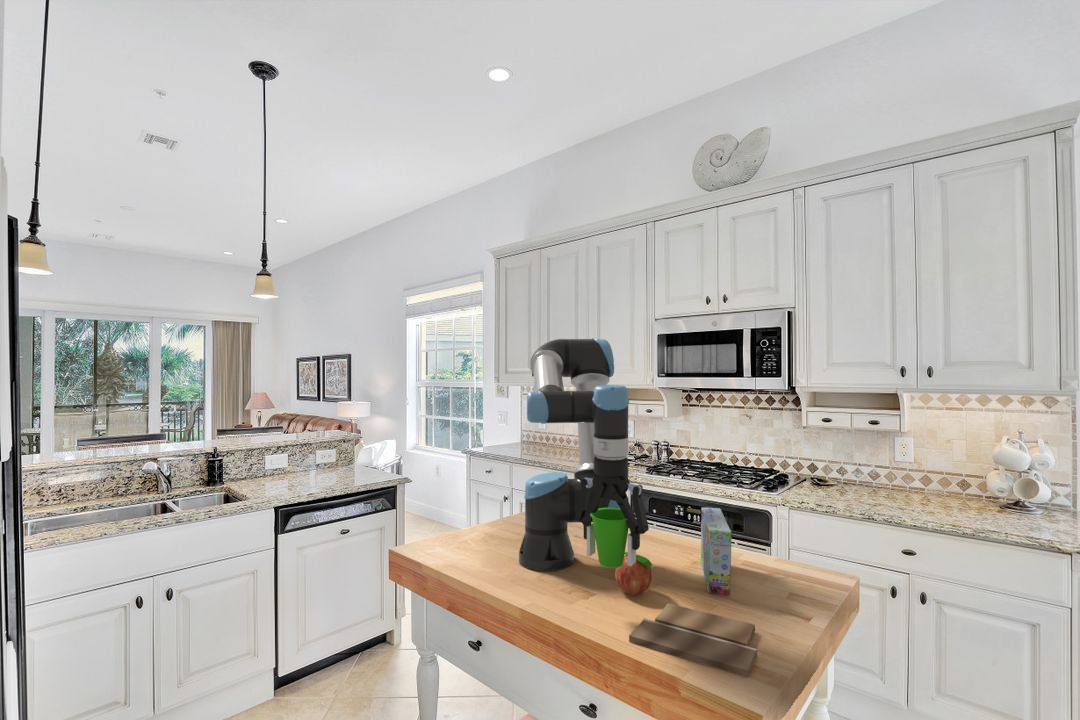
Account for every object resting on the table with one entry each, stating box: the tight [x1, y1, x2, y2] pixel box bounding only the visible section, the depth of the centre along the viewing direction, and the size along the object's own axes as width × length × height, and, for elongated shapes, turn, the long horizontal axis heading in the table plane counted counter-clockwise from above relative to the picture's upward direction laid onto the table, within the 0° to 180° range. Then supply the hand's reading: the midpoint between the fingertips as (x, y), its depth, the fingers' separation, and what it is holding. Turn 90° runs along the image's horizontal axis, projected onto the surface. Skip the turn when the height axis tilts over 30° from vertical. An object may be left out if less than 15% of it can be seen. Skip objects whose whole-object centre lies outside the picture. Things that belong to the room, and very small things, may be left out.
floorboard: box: [628, 618, 758, 678], centre depth 102 cm, size 22×8×1 cm, turn 57°
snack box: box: [700, 507, 732, 596], centre depth 135 cm, size 21×6×15 cm, turn 168°
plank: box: [654, 602, 756, 647], centre depth 109 cm, size 18×8×1 cm, turn 57°
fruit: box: [614, 551, 653, 596], centre depth 126 cm, size 9×10×10 cm
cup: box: [590, 508, 630, 569], centre depth 117 cm, size 9×9×11 cm
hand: (611, 558), depth 117 cm, fingers closed on cup, 9 cm apart
